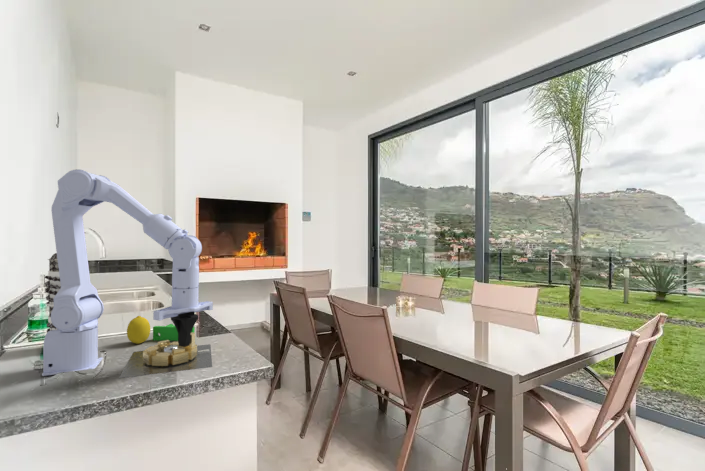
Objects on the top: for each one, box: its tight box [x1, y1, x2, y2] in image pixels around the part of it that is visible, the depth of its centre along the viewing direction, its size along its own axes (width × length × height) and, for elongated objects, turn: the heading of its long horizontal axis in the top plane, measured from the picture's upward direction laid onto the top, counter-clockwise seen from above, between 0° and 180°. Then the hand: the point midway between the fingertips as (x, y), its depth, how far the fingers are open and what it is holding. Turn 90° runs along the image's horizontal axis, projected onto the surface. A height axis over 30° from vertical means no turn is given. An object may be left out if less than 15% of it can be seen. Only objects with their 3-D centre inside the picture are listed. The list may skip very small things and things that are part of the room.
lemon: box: [126, 315, 151, 345], centre depth 101 cm, size 6×6×8 cm
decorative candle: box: [44, 252, 61, 333], centre depth 98 cm, size 9×9×25 cm
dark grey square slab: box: [118, 343, 213, 379], centre depth 88 cm, size 18×18×3 cm
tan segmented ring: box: [142, 332, 198, 366], centre depth 88 cm, size 11×11×6 cm
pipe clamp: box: [152, 323, 196, 342], centre depth 105 cm, size 11×4×5 cm, turn 89°
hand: (184, 345), depth 87 cm, fingers closed, pressing on tan segmented ring
